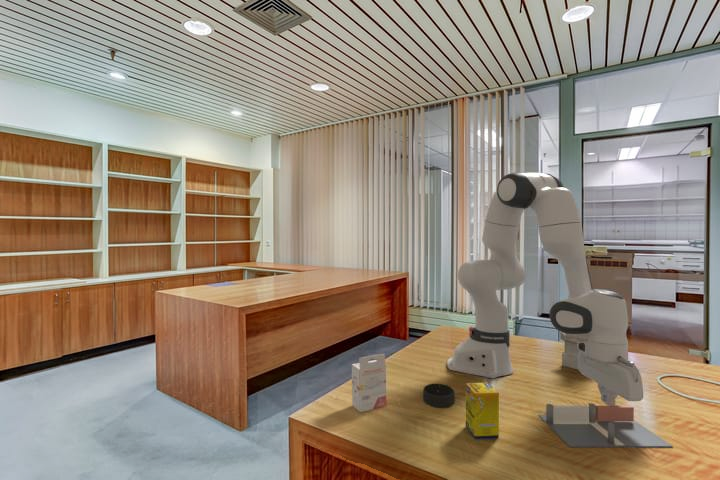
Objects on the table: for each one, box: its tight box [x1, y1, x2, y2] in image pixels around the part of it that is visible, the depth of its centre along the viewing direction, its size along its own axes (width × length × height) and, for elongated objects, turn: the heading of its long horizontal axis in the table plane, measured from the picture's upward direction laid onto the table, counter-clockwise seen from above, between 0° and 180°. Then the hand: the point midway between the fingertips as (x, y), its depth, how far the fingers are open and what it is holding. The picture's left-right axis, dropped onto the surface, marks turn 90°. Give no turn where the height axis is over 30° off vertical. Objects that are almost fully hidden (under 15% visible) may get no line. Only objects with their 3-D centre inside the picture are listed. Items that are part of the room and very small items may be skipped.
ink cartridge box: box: [351, 353, 387, 413], centre depth 102 cm, size 9×5×15 cm, turn 118°
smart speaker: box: [422, 383, 456, 409], centre depth 105 cm, size 9×9×4 cm
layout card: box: [538, 414, 674, 448], centre depth 89 cm, size 23×14×1 cm, turn 90°
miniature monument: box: [559, 331, 588, 371], centre depth 133 cm, size 10×10×30 cm
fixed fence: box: [545, 402, 614, 444], centre depth 88 cm, size 12×10×5 cm
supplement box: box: [465, 382, 500, 441], centre depth 88 cm, size 6×6×11 cm
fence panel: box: [595, 405, 635, 421], centre depth 92 cm, size 9×1×4 cm, turn 90°
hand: (608, 403), depth 97 cm, fingers closed
